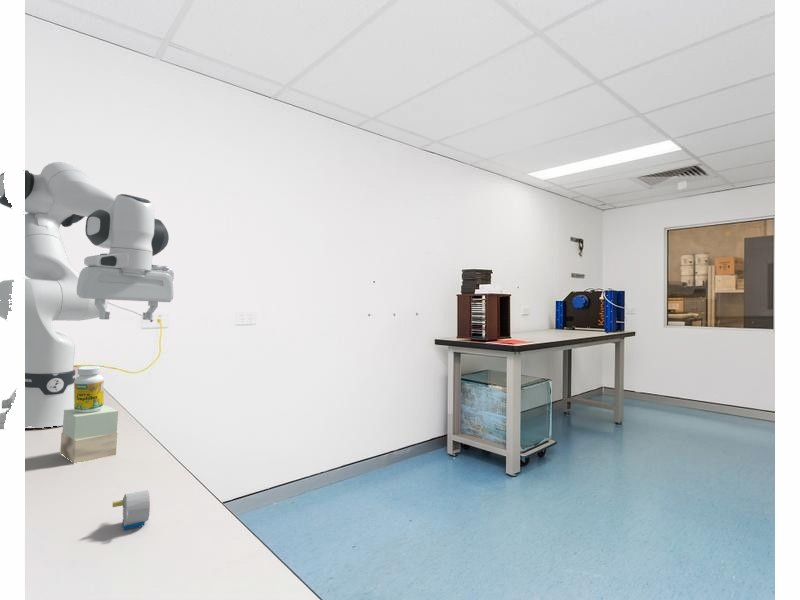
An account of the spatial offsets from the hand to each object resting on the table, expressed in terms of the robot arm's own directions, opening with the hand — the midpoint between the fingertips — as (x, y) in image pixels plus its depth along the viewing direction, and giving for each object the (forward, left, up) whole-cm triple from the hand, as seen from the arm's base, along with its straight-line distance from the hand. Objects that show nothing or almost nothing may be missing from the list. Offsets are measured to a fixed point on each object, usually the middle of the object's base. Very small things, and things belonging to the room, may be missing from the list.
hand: (126, 319), depth 104 cm
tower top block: (+1, -7, -26) cm, 26 cm away
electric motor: (+40, -15, -31) cm, 53 cm away
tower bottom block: (+1, -7, -31) cm, 31 cm away
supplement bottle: (+1, -7, -21) cm, 22 cm away
